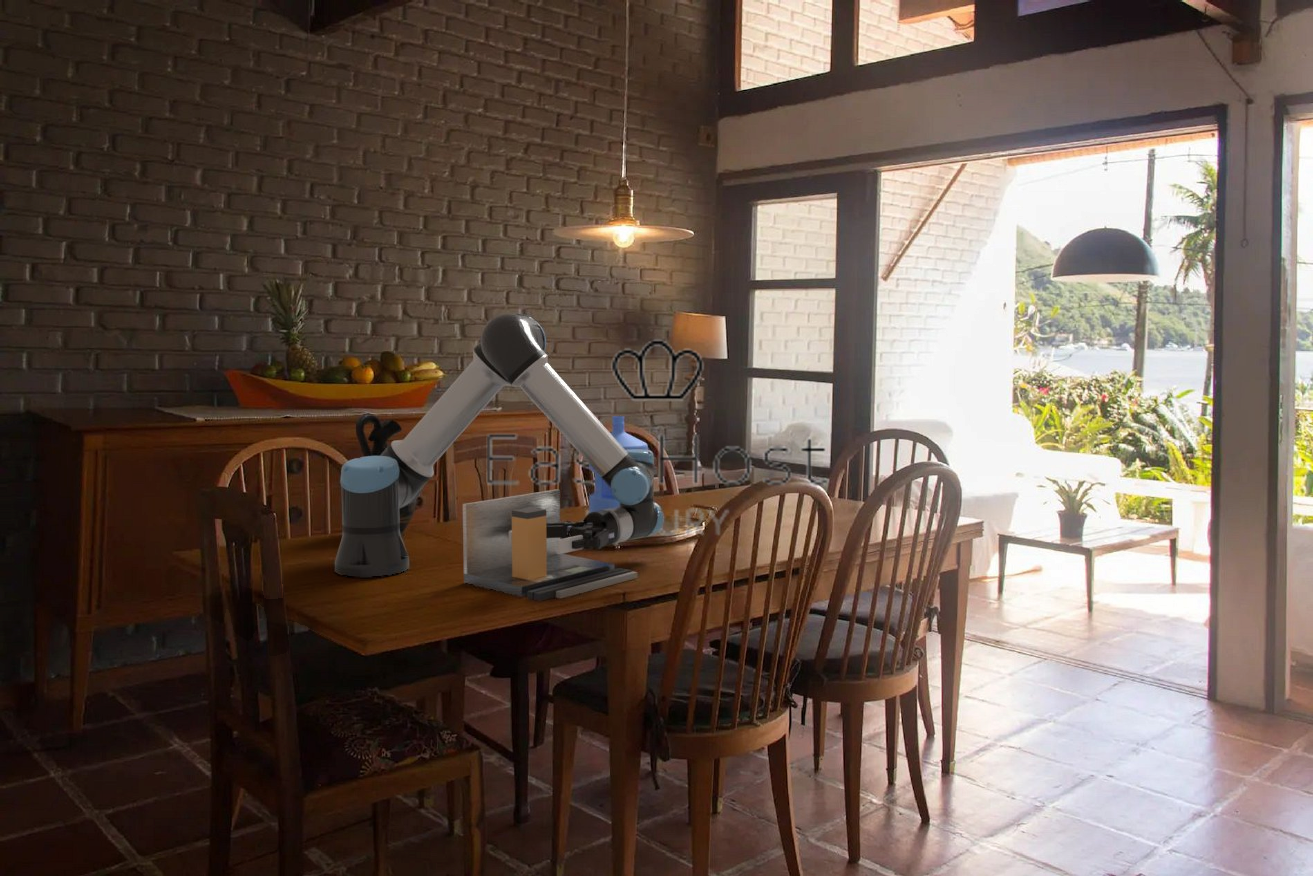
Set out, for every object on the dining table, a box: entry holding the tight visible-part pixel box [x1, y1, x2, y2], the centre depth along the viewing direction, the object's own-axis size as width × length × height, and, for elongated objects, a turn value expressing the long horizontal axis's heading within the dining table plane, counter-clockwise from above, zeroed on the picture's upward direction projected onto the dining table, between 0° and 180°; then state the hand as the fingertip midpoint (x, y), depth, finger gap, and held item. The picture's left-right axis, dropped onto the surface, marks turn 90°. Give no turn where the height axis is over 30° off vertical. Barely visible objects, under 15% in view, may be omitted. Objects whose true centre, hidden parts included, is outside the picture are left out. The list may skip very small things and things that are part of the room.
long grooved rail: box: [526, 567, 638, 602], centre depth 208 cm, size 26×5×1 cm, turn 140°
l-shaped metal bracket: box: [462, 488, 616, 598], centre depth 216 cm, size 26×17×16 cm, turn 140°
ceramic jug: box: [355, 413, 416, 537], centre depth 259 cm, size 17×15×30 cm
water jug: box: [588, 415, 649, 514], centre depth 277 cm, size 16×16×28 cm
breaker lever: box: [512, 507, 547, 580], centre depth 208 cm, size 5×4×13 cm
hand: (533, 542), depth 209 cm, fingers open, 13 cm apart
